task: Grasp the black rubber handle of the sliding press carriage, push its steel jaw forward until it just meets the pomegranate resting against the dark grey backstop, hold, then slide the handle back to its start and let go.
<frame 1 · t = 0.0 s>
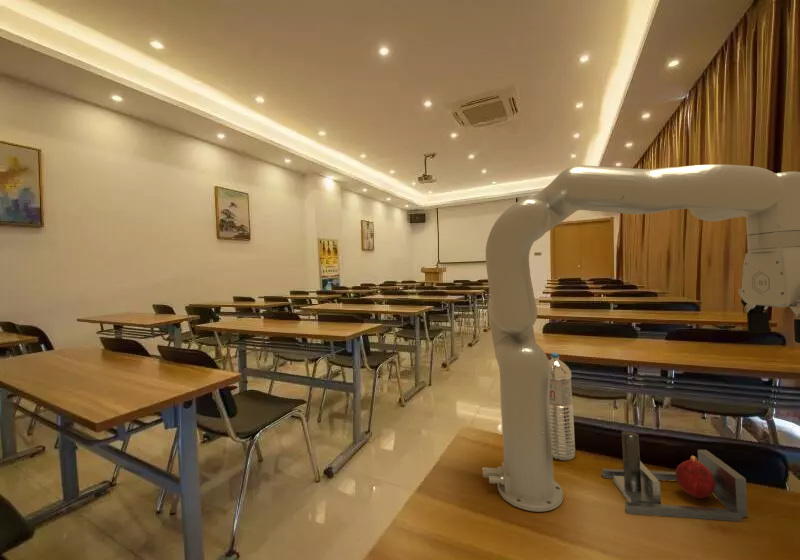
hand: (781, 337, 62), 31 cm above the table, tool pointing down, fingers open, 9 cm apart
water bottle: (560, 454, 84), on the table
pomegranate: (695, 498, 66), resting in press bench
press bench: (661, 495, 67), on the table
carriage: (634, 464, 68), point 6 cm above the table, slide at 0.0 cm
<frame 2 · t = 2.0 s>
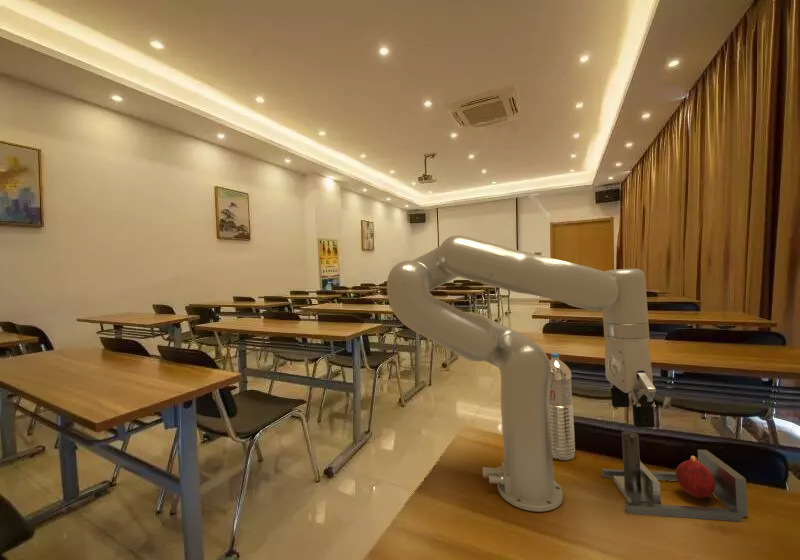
hand: (631, 416, 68), 16 cm above the table, tool pointing down, fingers open, 9 cm apart
nothing on the table moved.
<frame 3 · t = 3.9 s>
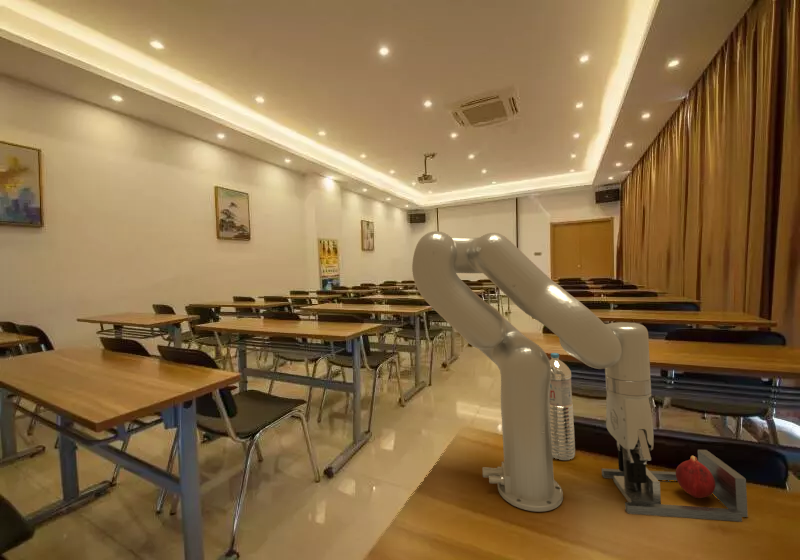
hand: (632, 475, 68), 4 cm above the table, tool pointing down, fingers closed on carriage, 2 cm apart
carriage: (634, 464, 68), point 6 cm above the table, slide at 0.0 cm, touching gripper
everything else where it was.
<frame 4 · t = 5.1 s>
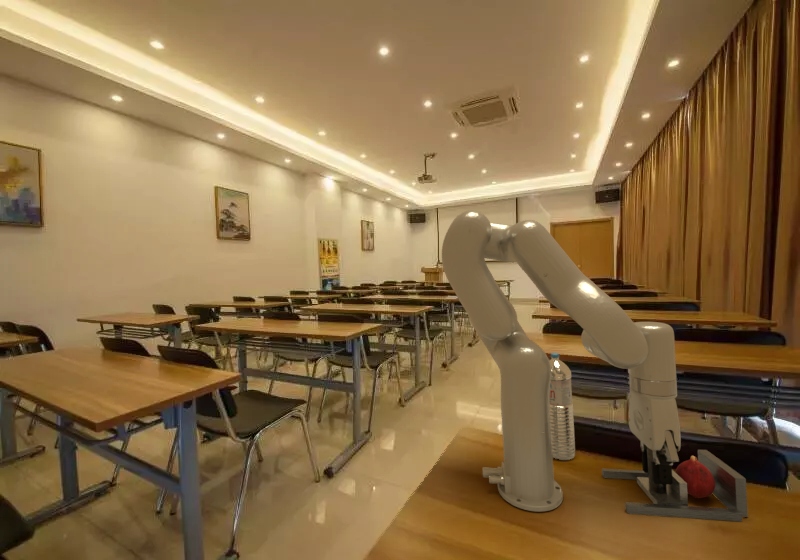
hand: (657, 476, 67), 4 cm above the table, tool pointing down, fingers closed on carriage, 2 cm apart
carriage: (659, 465, 67), point 6 cm above the table, slide at 4.4 cm, touching gripper
everything else where it was.
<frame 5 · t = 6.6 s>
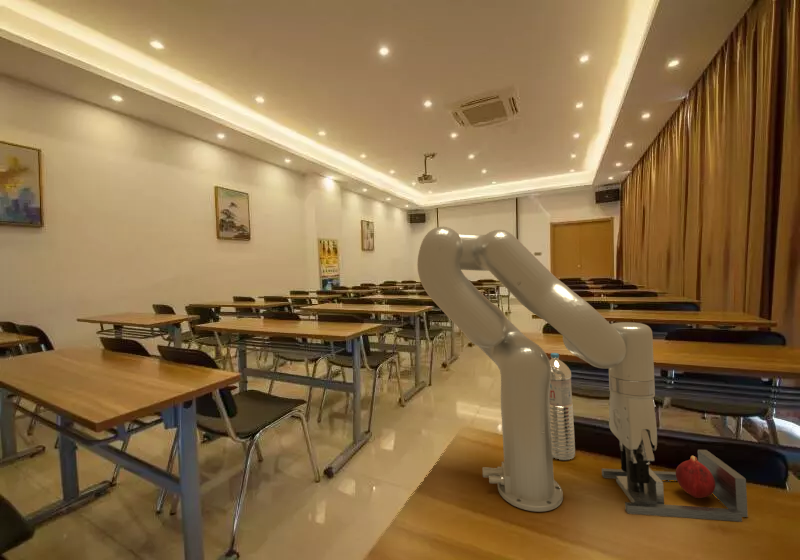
hand: (634, 475, 68), 4 cm above the table, tool pointing down, fingers closed on carriage, 2 cm apart
carriage: (637, 464, 68), point 6 cm above the table, slide at 0.5 cm, touching gripper
everything else where it was.
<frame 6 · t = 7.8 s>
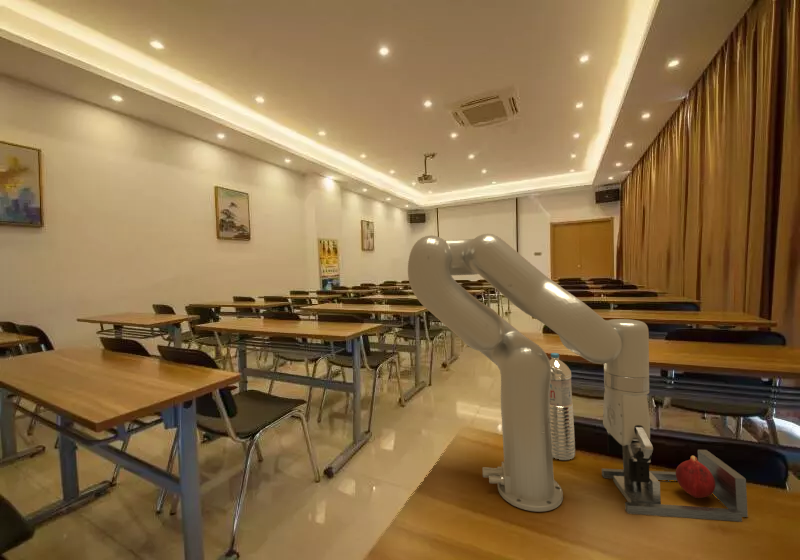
hand: (627, 466, 68), 5 cm above the table, tool pointing down, fingers open, 9 cm apart
carriage: (634, 464, 68), point 6 cm above the table, slide at 0.0 cm
everything else where it was.
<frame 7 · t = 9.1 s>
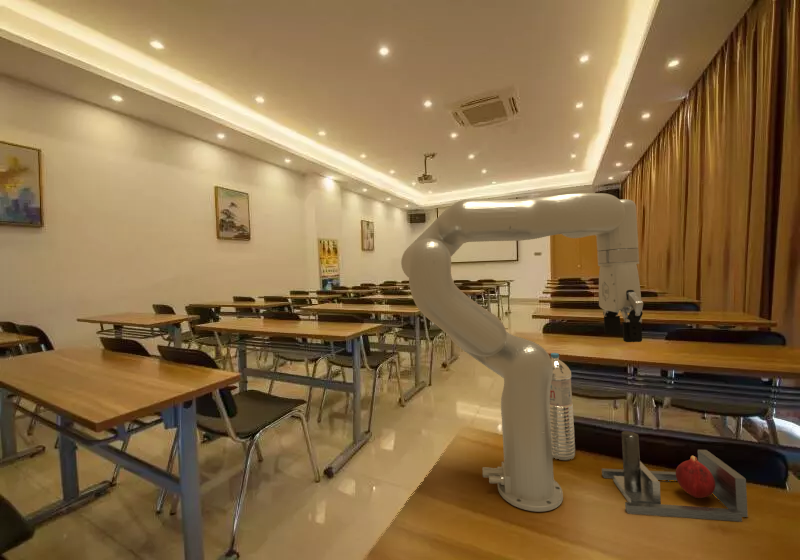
hand: (622, 337, 74), 30 cm above the table, tool pointing down, fingers open, 9 cm apart
nothing on the table moved.
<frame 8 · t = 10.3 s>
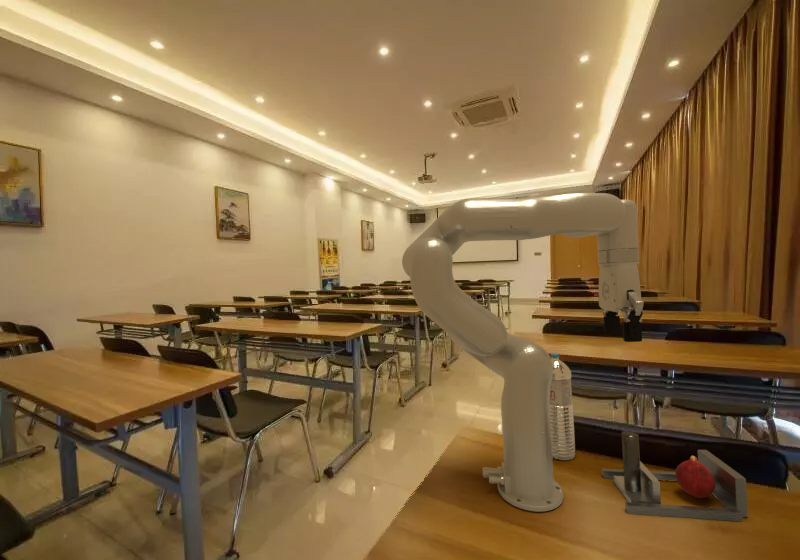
hand: (621, 337, 74), 30 cm above the table, tool pointing down, fingers open, 9 cm apart
nothing on the table moved.
at the end: carriage slide at 0.0 cm; pomegranate moved 0.2 cm from its start; the gripper is holding nothing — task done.
